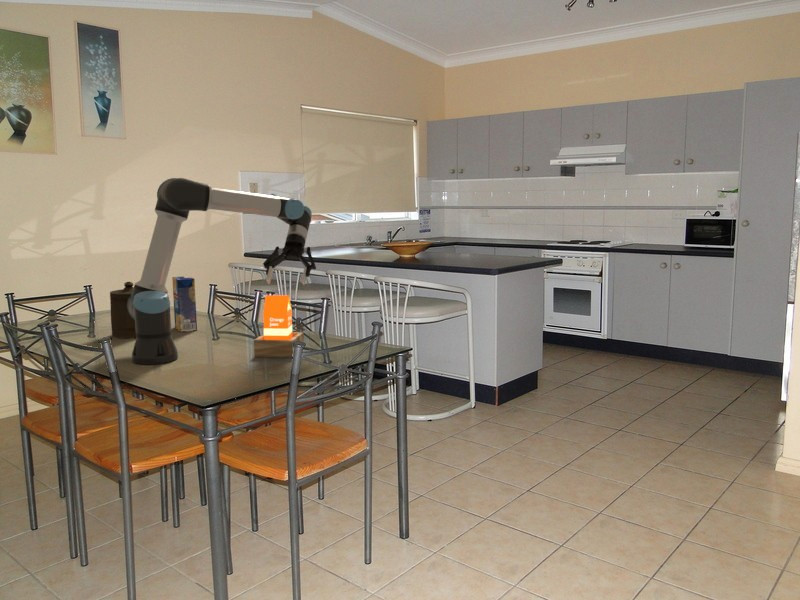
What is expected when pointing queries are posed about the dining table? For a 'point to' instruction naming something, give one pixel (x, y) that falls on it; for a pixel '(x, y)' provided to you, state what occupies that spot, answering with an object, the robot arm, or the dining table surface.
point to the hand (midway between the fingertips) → (285, 282)
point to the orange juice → (277, 317)
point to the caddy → (276, 346)
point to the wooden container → (122, 313)
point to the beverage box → (184, 303)
